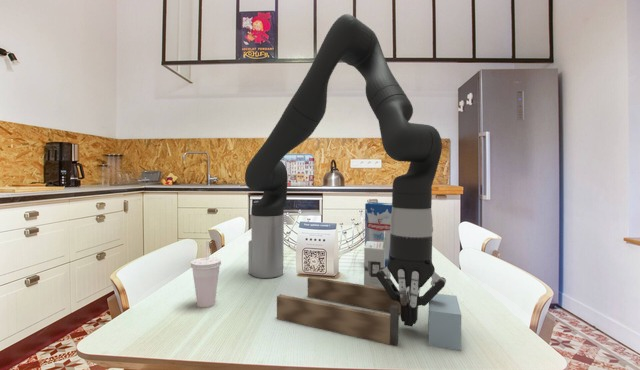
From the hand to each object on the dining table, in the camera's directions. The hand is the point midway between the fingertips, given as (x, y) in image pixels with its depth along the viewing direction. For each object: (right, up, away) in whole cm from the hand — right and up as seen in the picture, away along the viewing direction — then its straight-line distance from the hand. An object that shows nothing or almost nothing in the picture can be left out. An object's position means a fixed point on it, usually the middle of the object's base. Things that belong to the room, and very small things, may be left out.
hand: (409, 324), depth 62 cm
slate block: (+6, -1, -2) cm, 6 cm away
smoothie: (-42, -1, +12) cm, 43 cm away
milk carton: (+3, 0, +43) cm, 43 cm away
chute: (-11, -1, +6) cm, 13 cm away
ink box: (-3, -1, +21) cm, 21 cm away
